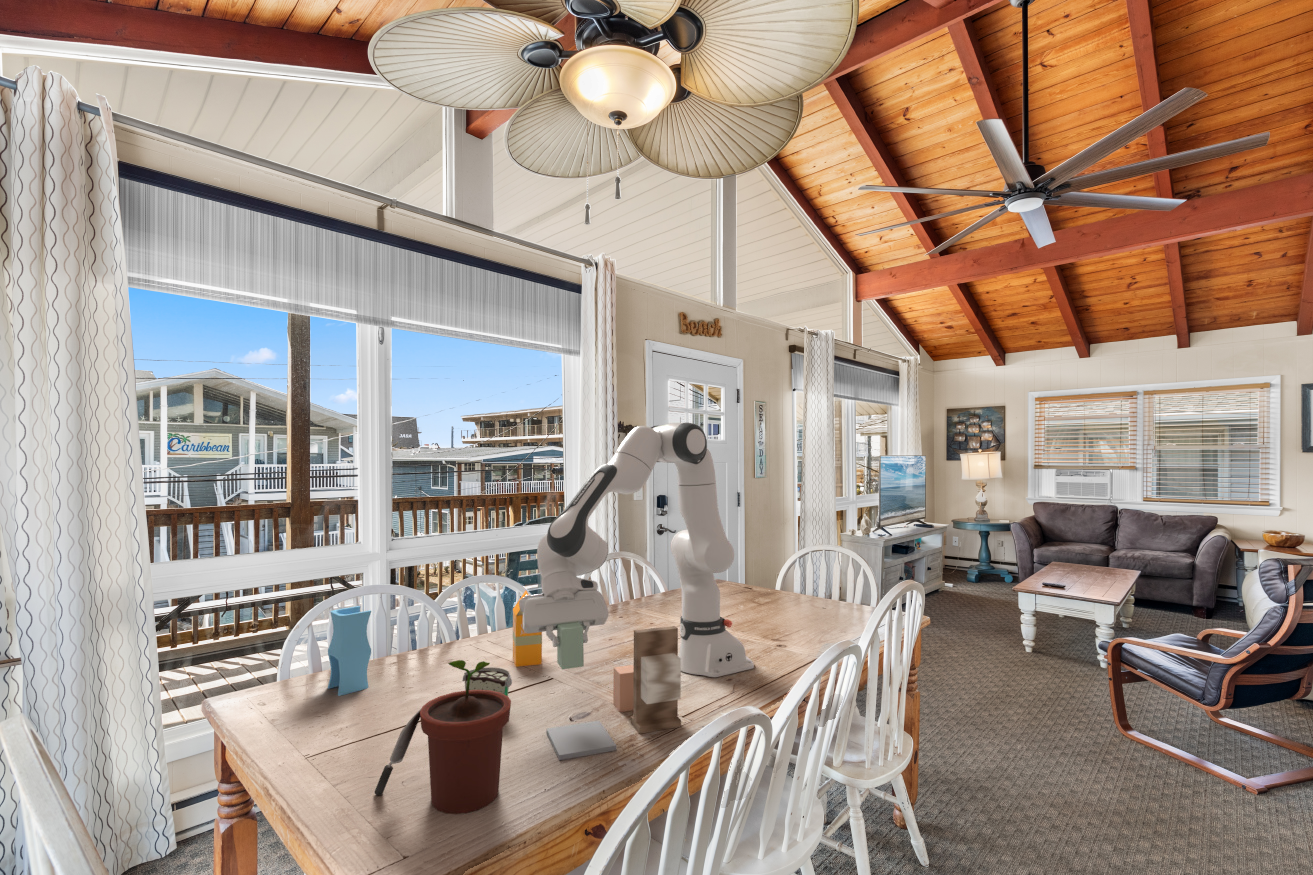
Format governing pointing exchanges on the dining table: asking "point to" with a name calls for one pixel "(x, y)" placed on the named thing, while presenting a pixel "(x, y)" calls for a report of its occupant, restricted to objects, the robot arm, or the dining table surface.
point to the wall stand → (656, 679)
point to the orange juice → (525, 641)
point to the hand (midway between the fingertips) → (570, 643)
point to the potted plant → (459, 746)
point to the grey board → (580, 740)
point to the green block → (570, 645)
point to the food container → (489, 680)
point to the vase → (349, 650)
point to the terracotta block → (623, 688)
